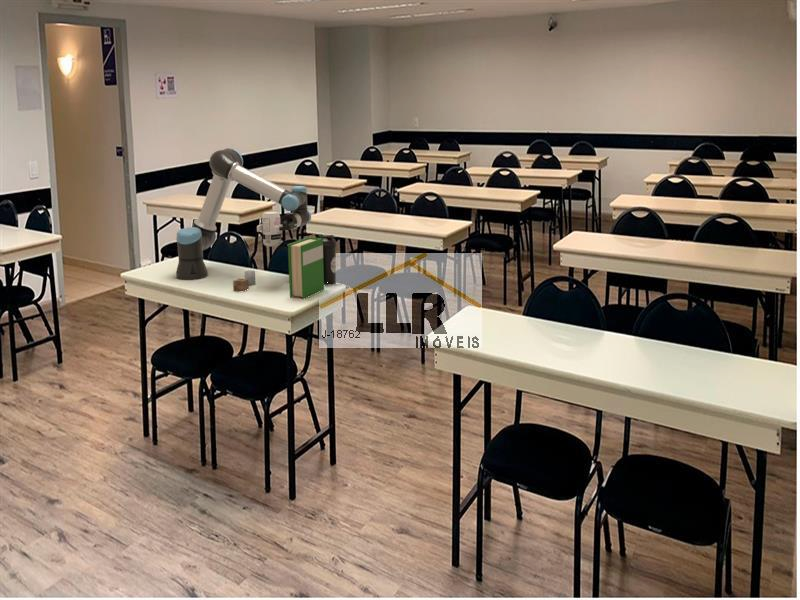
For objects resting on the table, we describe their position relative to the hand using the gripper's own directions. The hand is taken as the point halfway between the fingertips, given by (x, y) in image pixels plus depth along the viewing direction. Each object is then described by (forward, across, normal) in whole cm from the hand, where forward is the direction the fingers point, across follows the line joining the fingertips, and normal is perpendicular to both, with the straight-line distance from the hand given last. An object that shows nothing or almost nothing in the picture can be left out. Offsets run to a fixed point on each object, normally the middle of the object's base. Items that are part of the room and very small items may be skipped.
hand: (266, 229), depth 336 cm
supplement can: (-5, 0, -8) cm, 9 cm away
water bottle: (-20, -20, -28) cm, 40 cm away
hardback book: (0, -20, -28) cm, 35 cm away
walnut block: (+6, +11, -28) cm, 31 cm away
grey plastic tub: (-5, +13, -28) cm, 31 cm away
